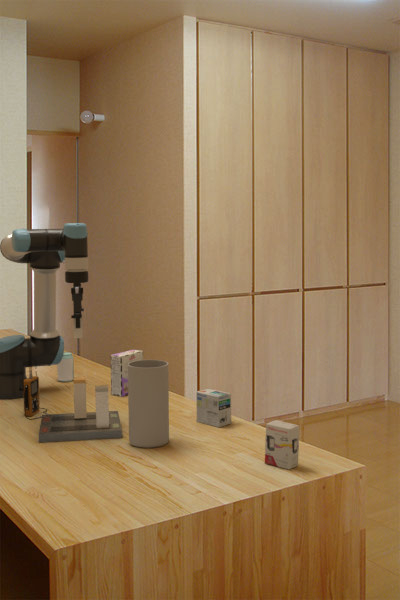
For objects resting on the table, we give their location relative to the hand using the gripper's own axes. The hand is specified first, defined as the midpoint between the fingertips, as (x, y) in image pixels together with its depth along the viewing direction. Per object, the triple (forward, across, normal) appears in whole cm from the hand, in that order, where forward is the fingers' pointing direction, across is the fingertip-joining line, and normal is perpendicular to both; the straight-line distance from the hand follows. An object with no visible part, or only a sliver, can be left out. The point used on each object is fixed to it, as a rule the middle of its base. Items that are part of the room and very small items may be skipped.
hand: (78, 334), depth 231 cm
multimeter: (+32, -18, -14) cm, 39 cm away
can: (+32, -70, -7) cm, 78 cm away
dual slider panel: (+31, +3, 0) cm, 32 cm away
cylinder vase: (+32, +20, +21) cm, 43 cm away
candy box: (+32, -45, +18) cm, 58 cm away
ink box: (+32, +47, +56) cm, 80 cm away
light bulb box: (+32, +3, +45) cm, 55 cm away
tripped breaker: (+29, -3, 0) cm, 29 cm away
